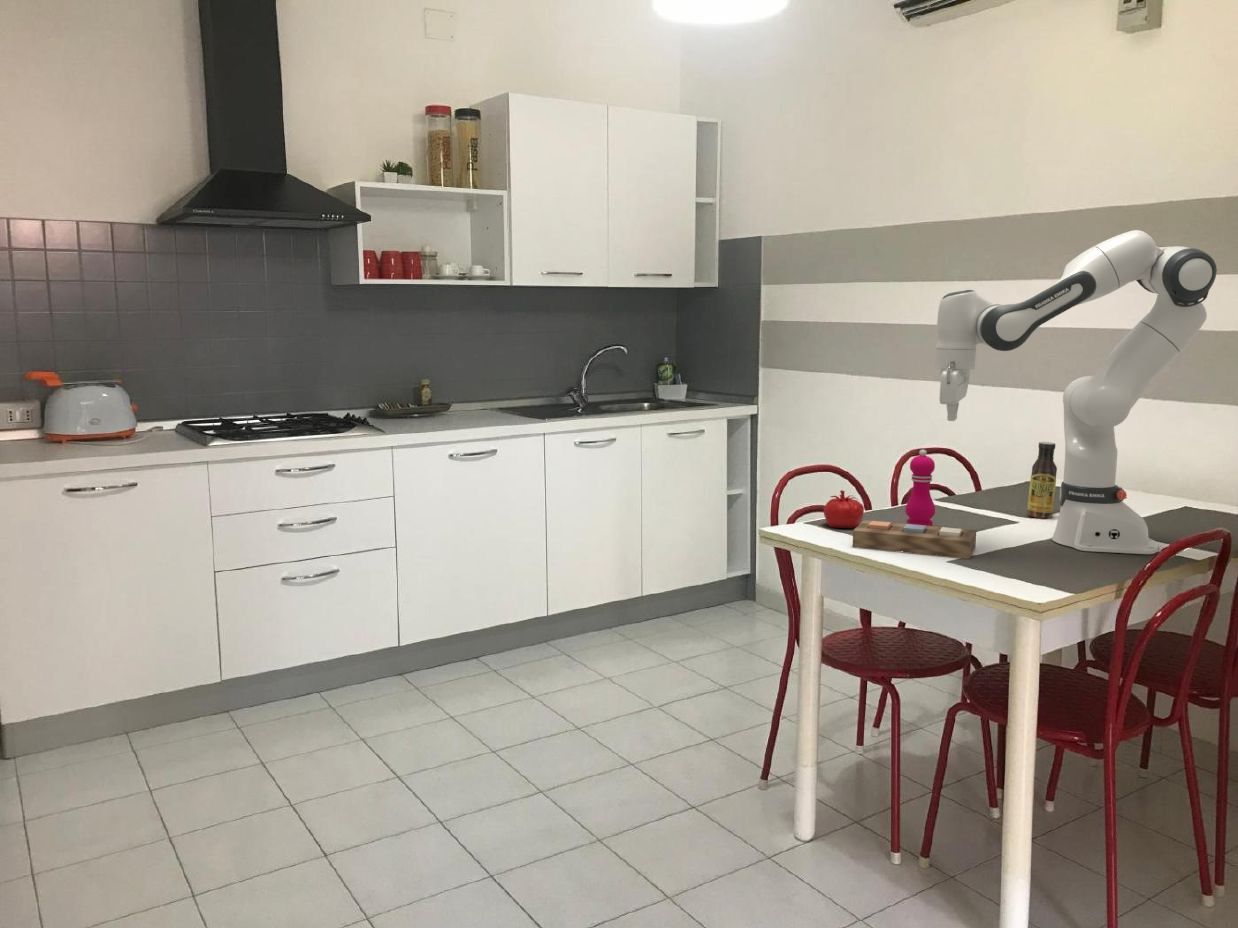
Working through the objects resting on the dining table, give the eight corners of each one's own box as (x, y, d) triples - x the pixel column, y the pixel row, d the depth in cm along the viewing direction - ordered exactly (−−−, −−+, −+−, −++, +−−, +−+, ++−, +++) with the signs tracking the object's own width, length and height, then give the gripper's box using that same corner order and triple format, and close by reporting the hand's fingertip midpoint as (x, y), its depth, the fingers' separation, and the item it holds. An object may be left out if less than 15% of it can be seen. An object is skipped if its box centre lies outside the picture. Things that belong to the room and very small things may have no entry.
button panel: (975, 546, 234) (976, 530, 233) (969, 558, 223) (970, 541, 223) (863, 535, 245) (863, 520, 244) (852, 547, 234) (853, 530, 234)
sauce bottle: (1026, 518, 264) (1031, 443, 260) (1026, 513, 270) (1031, 440, 266) (1053, 520, 261) (1059, 444, 258) (1053, 515, 267) (1058, 441, 264)
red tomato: (860, 532, 250) (862, 496, 248) (820, 529, 253) (821, 493, 251) (865, 523, 259) (867, 488, 257) (826, 519, 262) (827, 485, 261)
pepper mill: (935, 531, 249) (939, 452, 246) (905, 530, 251) (909, 451, 248) (932, 524, 256) (936, 447, 253) (903, 523, 258) (907, 447, 255)
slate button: (925, 540, 235) (926, 525, 234) (922, 544, 231) (923, 529, 230) (906, 538, 237) (906, 523, 236) (902, 542, 233) (903, 527, 232)
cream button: (961, 543, 232) (961, 528, 231) (958, 547, 228) (959, 532, 227) (941, 541, 233) (942, 527, 233) (938, 545, 229) (939, 531, 229)
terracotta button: (890, 536, 238) (891, 522, 238) (887, 540, 234) (887, 526, 234) (871, 534, 240) (872, 520, 240) (868, 538, 236) (868, 524, 236)
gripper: (963, 364, 222) (960, 426, 224) (974, 359, 240) (971, 416, 242) (934, 363, 225) (931, 424, 227) (946, 358, 243) (944, 415, 245)
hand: (951, 420), depth 235 cm, fingers closed
